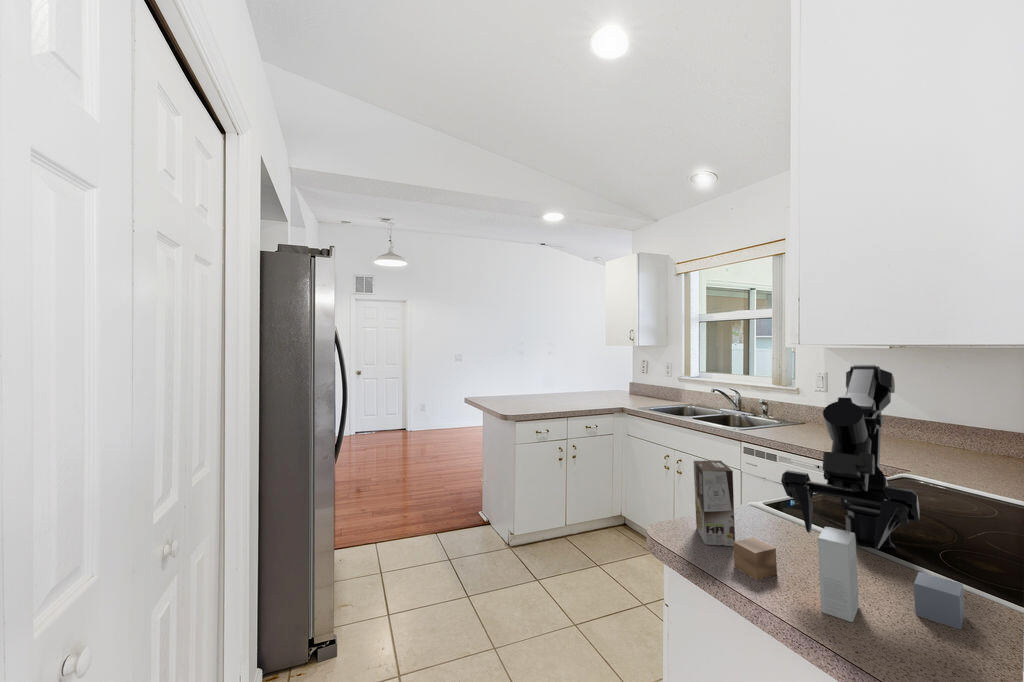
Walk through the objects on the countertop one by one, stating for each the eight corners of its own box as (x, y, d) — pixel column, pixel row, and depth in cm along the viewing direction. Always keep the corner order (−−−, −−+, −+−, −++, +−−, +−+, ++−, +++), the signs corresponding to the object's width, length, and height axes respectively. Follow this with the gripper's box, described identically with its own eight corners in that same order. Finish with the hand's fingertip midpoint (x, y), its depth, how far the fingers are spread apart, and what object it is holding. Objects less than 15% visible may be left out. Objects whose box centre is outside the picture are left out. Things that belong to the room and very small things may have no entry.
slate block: (920, 602, 71) (918, 571, 71) (964, 616, 67) (962, 583, 67) (915, 615, 68) (913, 583, 68) (961, 630, 64) (959, 596, 64)
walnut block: (754, 562, 86) (753, 537, 86) (776, 575, 81) (775, 548, 81) (734, 567, 84) (733, 541, 84) (756, 580, 79) (755, 553, 79)
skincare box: (827, 596, 74) (824, 525, 74) (859, 606, 70) (856, 532, 71) (819, 612, 69) (816, 537, 69) (853, 624, 66) (850, 545, 66)
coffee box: (736, 547, 92) (733, 470, 92) (704, 545, 93) (701, 470, 94) (724, 529, 101) (722, 459, 101) (695, 527, 102) (692, 459, 103)
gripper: (781, 427, 83) (766, 500, 75) (914, 440, 69) (912, 531, 62) (794, 460, 88) (781, 532, 80) (920, 478, 75) (918, 566, 67)
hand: (840, 539), depth 72 cm, fingers open, 9 cm apart
